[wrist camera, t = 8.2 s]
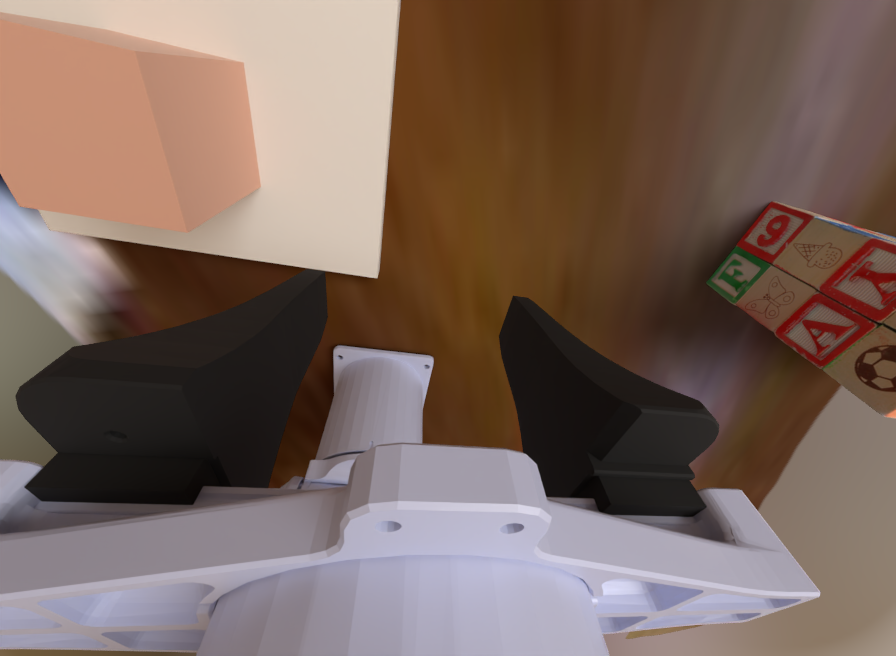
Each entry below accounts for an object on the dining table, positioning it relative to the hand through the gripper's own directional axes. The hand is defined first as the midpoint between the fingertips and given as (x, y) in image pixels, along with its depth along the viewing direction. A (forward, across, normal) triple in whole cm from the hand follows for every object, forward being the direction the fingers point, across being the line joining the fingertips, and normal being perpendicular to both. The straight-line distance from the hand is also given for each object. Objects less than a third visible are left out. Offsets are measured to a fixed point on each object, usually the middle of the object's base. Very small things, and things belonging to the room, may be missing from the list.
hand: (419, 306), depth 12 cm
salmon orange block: (+8, +11, -4) cm, 14 cm away
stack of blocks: (+10, -32, -1) cm, 33 cm away
